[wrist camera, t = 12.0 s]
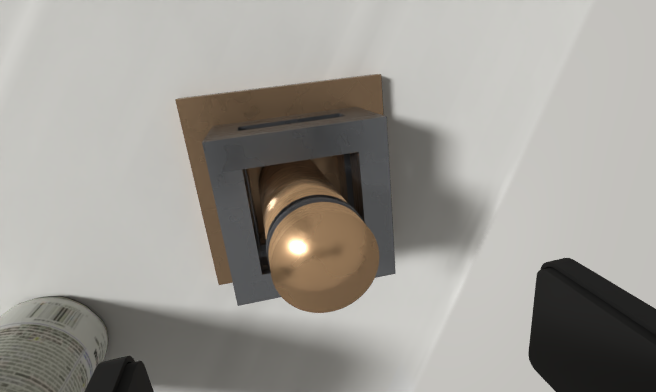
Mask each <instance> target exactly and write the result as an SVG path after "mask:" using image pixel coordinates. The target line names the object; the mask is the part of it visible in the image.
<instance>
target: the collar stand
mask: <svg viewBox="0 0 656 392" xmlns="http://www.w3.org/2000/svg"><path fill="white" fill-rule="evenodd" d="M175 100H176V104H177V109H178V113H179V117H180V121H181V126H182V130H183V134H184V138H185V143H186V147H187V151H188V155H189V160H190V164H191V168H192V172H193V177H194V181H195V185H196V190H197V194H198V198H199V202H200V207H201V211H202V215H203V219H204V224H205V228H206V232H207V236H208V241H209V245H210V249H211V253H212V258H213V262H214V266H215V271H216V275H217V279H218V283H219V285H222V284H227V283H232V282H233V286H234V290H235V295H236V299H237V304H238V306H239V305H244V304H249V303H254V302H259V301H264V300H269V299H274V298H278V297H281V296H280V294H279V293H278V291H277V290H276V288H275V286H274V284H273V281H272V277H271V271H270V268H269V265H268V260H267V252H266V236H265V229H264V222H263V215H262V208H261V201H260V194H259V177H260V174H261V172H262V170H263V168H264V167H265V166H269V165H276V164H282V163H289V162H295V161H302V160H308V159H310V160H311V161H312V162H313V163H314V164H315V165H316V166H317V167H318V168H319V169H320V171H321V172H322V173H323V174H324V175H325V177H326V178H327V179H328V180H329V181H330V183H331V184H332V185H333V186H334V187H335V188H336V190H337V191H338V192H339V193H340V194H341V196H342V197H343V198H344V199H345V200H346V202H347V203H348V204H349V205H351V206H352V207H353V208H354V209H355V210H356V211H357V213H358V214H359V215H360V216H361V217H362V219H363V220H364V222H365V223H366V225H367V226H368V228H369V229H370V230H371V232H372V233H373V235H374V237H375V239H376V241H377V244H378V248H379V266H378V270H377V273H376V276H375V278H376V277H381V276H386V275H391V274H395V256H394V239H393V221H392V204H391V186H390V169H389V151H388V134H387V117H386V116H384V115H383V99H382V82H381V74H374V75H365V76H357V77H349V78H341V79H333V80H324V81H316V82H308V83H300V84H292V85H284V86H275V87H267V88H259V89H251V90H243V91H234V92H226V93H218V94H210V95H202V96H194V97H185V98H178V99H175Z"/></svg>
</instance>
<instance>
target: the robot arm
mask: <svg viewBox="0 0 656 392" xmlns="http://www.w3.org/2000/svg"><path fill="white" fill-rule="evenodd" d="M529 360H530V362H531V364H532V366H533V368H534V369H535V370H536V371H537V372H538V373H539V374H540V376H541V377H542V378H543V379H544V380H545V381H546V382H547V383H548V384H549V385H550V386H551V387H552V388H553V389H554V390H555V391H556V392H656V309H655V308H653V307H652V306H650V305H648V304H646V303H645V302H643V301H642V300H640V299H638V298H637V297H635V296H633V295H631V294H630V293H628V292H626V291H625V290H623V289H621V288H620V287H618V286H616V285H615V284H613V283H611V282H610V281H608V280H606V279H605V278H603V277H601V276H600V275H598V274H596V273H595V272H593V271H591V270H590V269H588V268H586V267H585V266H583V265H581V264H580V263H578V262H576V261H575V260H573V259H570V258H563V259H559V260H554V261H550V262H546V263H544V264H543V265H542V267H541V270H540V271H539V272H538V273H537V278H536V288H535V297H534V307H533V317H532V326H531V335H530V345H529ZM84 392H154V391H153V388H152V386H151V383H150V380H149V377H148V374H147V371H146V369H145V366H144V364H143V362H142V361H137V362H135V361H134V359H133V358H132V357H131V356H126V357H122V358H118V359H113V360H109V361H104V362H101V363H99V364H98V365H97V367H96V368H95V370H94V372H93V375H92V377H91V379H90V381H89V383H88V385H87V387H86V389H85V391H84Z"/></svg>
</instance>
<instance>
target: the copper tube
mask: <svg viewBox="0 0 656 392" xmlns="http://www.w3.org/2000/svg"><path fill="white" fill-rule="evenodd" d="M259 194H260V201H261V208H262V215H263V222H264V229H265V236H266V252H267V260H268V265H269V268H270V271H271V277H272V281H273V284H274V286H275V288H276V290H277V291H278V293H279V294H280V296H281V297H282V298H283V299H284V300H285V301H286V302H288V303H289V304H291V305H292V306H294V307H296V308H298V309H300V310H304V311H307V312H314V313H324V312H331V311H335V310H339V309H341V308H344V307H346V306H348V305H350V304H351V303H353V302H354V301H356V300H357V299H359V298H360V297H361V296H362V295H363V294H364V293H365V292H366V291H367V289H368V288H369V287H370V285H371V284H372V282H373V280H374V278H375V276H376V273H377V270H378V266H379V248H378V244H377V241H376V239H375V237H374V235H373V233H372V232H371V230H370V229H369V228H368V226H367V225H366V223H365V222H364V220H363V219H362V217H361V216H360V215H359V214H358V213H357V211H356V210H355V209H354V208H353V207H352V206H351V205H349V204H348V203H347V202H346V200H345V199H344V198H343V197H342V196H341V194H340V193H339V192H338V191H337V190H336V188H335V187H334V186H333V185H332V184H331V183H330V181H329V180H328V179H327V178H326V177H325V175H324V174H323V173H322V172H321V171H320V169H319V168H318V167H317V166H316V165H315V164H314V163H313V162H312V161H311V160H310V159H308V160H302V161H295V162H289V163H282V164H276V165H269V166H265V167H264V168H263V170H262V172H261V174H260V177H259Z"/></svg>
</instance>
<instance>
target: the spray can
mask: <svg viewBox="0 0 656 392" xmlns="http://www.w3.org/2000/svg"><path fill="white" fill-rule="evenodd" d="M107 346H108V334H107V330H106V327H105V325H104V323H103V321H102V320H101V319H100V318H99V317H98V316H97V315H96V314H95V313H93V312H92V311H91V310H90V309H89V308H88V307H87V306H85V305H83V304H81V303H79V302H76V301H73V300H71V299H69V298H66V297H42V298H36V299H32V300H29V301H26V302H22V303H19V304H18V305H16V306H14V307H13V308H11V309H10V310H9V311H7V312H6V313H4V314H3V315H2V316H1V317H0V392H84V391H85V389H86V387H87V385H88V383H89V381H90V379H91V377H92V375H93V372H94V370H95V368H96V367H97V365H98V364H99V363H101V362H103V360H104V357H105V354H106V350H107Z"/></svg>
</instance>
